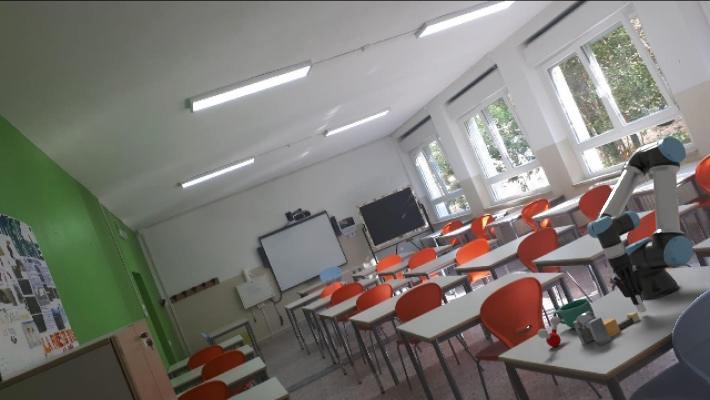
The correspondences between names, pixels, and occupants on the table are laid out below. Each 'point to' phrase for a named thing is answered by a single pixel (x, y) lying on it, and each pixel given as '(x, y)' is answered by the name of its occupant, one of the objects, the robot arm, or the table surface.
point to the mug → (573, 311)
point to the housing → (591, 329)
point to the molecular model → (551, 338)
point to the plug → (614, 327)
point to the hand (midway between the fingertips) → (642, 311)
